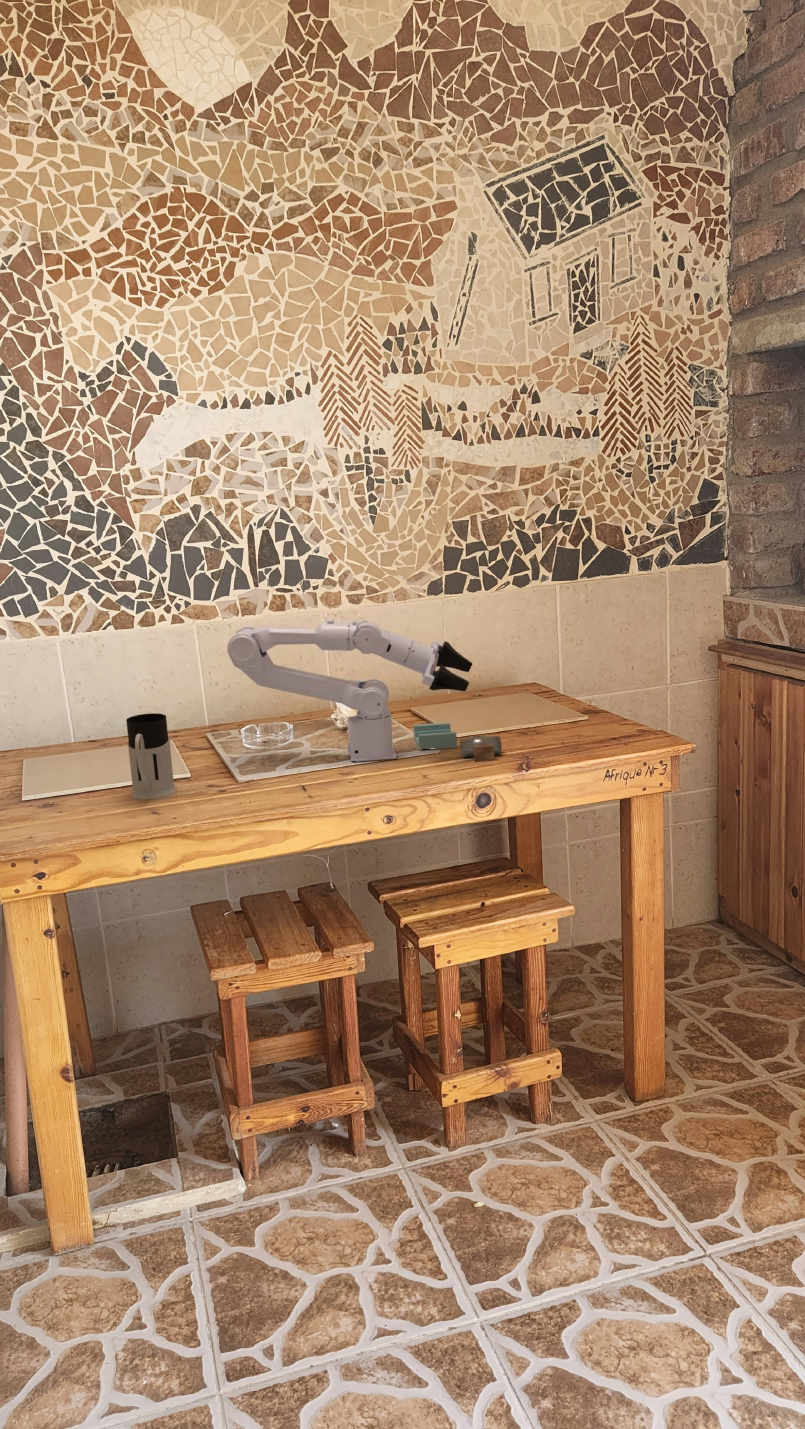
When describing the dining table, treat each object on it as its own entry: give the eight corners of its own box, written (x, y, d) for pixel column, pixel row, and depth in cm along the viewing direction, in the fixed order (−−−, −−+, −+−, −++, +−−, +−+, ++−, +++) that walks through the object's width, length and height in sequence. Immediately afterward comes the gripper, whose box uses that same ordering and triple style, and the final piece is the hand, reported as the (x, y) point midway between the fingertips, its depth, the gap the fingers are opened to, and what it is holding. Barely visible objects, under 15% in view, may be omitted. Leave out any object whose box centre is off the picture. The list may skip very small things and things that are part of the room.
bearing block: (475, 761, 221) (474, 747, 221) (468, 750, 230) (467, 736, 229) (494, 760, 222) (494, 746, 221) (486, 748, 230) (486, 735, 230)
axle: (463, 759, 224) (463, 741, 223) (460, 754, 227) (459, 736, 226) (501, 757, 224) (501, 738, 223) (498, 751, 228) (497, 733, 227)
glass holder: (180, 784, 215) (173, 711, 212) (167, 807, 202) (159, 729, 198) (136, 786, 215) (128, 713, 212) (120, 809, 201) (111, 732, 198)
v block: (419, 750, 231) (419, 736, 231) (414, 738, 241) (413, 724, 240) (456, 747, 232) (456, 733, 231) (449, 736, 242) (449, 722, 241)
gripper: (410, 655, 216) (473, 680, 217) (419, 620, 228) (479, 644, 229) (398, 683, 220) (460, 707, 221) (407, 647, 232) (466, 670, 233)
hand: (469, 677), depth 225 cm, fingers open, 7 cm apart
